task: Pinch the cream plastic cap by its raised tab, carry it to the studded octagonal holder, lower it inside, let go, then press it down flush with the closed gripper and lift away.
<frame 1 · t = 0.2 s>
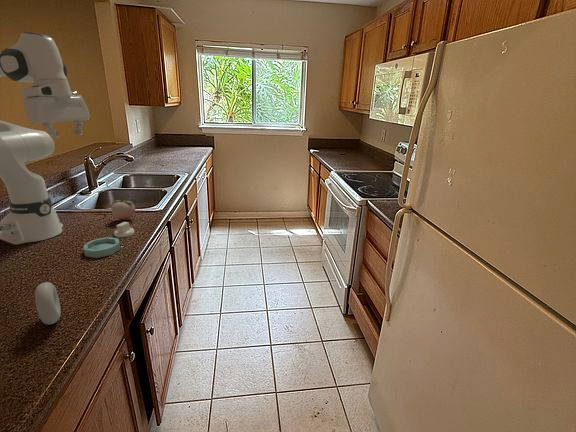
hand: (67, 136, 103), 38 cm above the counter, tool pointing down, fingers open, 8 cm apart
studded octagonal holder: (103, 250, 110), on the counter
decorative fruit: (125, 221, 137), on the counter
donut: (53, 321, 76), on the counter
cap: (124, 234, 124), on the counter
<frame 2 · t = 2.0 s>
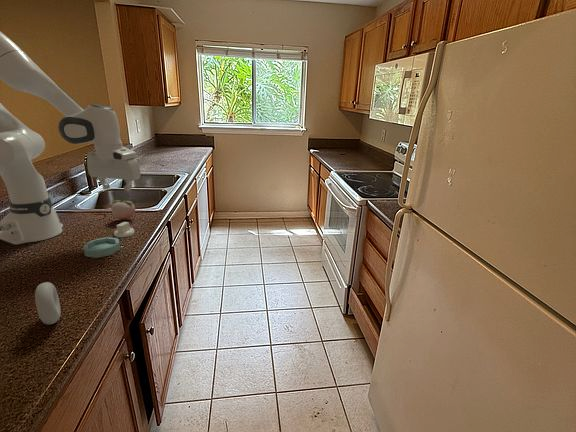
hand: (117, 189, 118), 18 cm above the counter, tool pointing down, fingers open, 8 cm apart
nothing on the counter moved.
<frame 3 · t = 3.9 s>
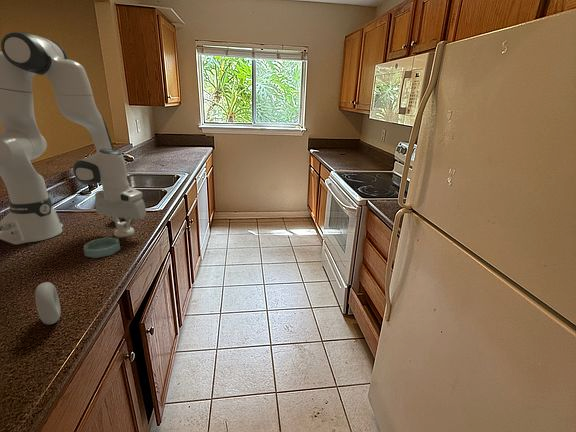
hand: (123, 227, 123), 3 cm above the counter, tool pointing down, fingers closed on cap, 2 cm apart
cap: (124, 234, 124), on the counter, touching gripper
everything else where it was.
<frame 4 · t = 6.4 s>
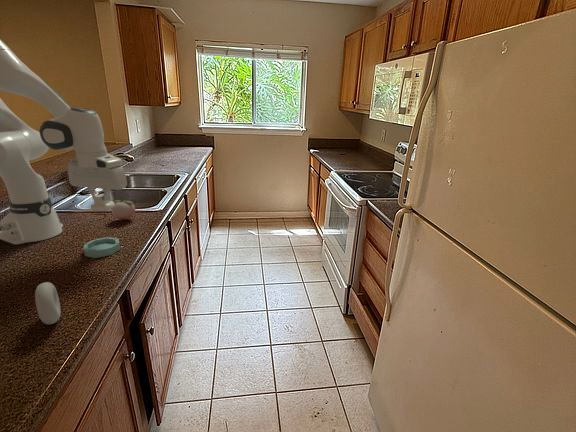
hand: (101, 200, 108), 17 cm above the counter, tool pointing down, fingers closed on cap, 2 cm apart
cap: (103, 207, 109), point 14 cm above the counter, touching gripper
everything else where it was.
when the fingers open (5 cm above the counter, at t = 8.6 s): cap stays where it is, resting on studded octagonal holder.
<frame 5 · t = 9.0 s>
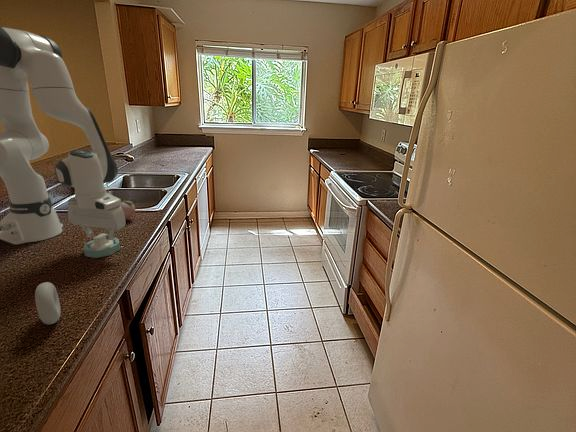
hand: (100, 238, 109), 5 cm above the counter, tool pointing down, fingers open, 7 cm apart
cap: (102, 247, 110), point 1 cm above the counter, touching studded octagonal holder
everything else where it was.
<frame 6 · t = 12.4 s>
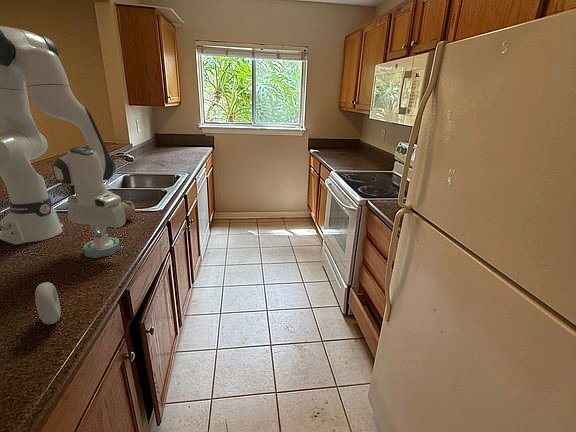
hand: (100, 235, 109), 6 cm above the counter, tool pointing down, fingers closed, pressing on cap
cap: (102, 247, 110), point 1 cm above the counter, touching studded octagonal holder, gripper
everything else where it was.
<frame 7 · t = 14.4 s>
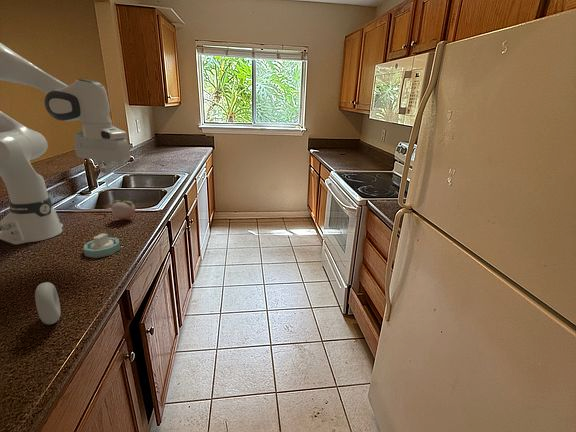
hand: (105, 172, 110), 26 cm above the counter, tool pointing down, fingers closed
cap: (102, 247, 110), point 1 cm above the counter, touching studded octagonal holder
everything else where it was.
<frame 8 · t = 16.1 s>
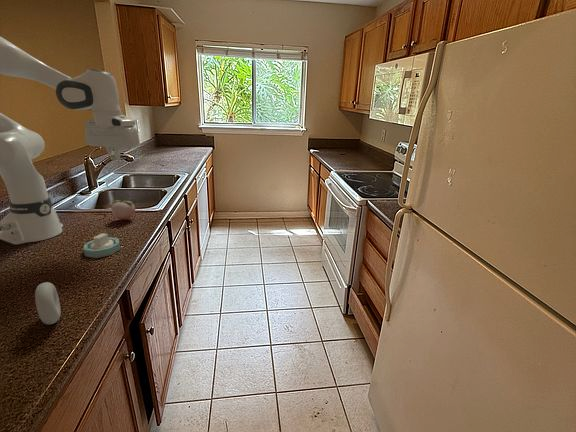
hand: (115, 159, 115), 29 cm above the counter, tool pointing down, fingers closed
nothing on the counter moved.
at the end: cap 0.2 cm off-centre on the studded octagonal holder, point 1.0 cm above the studded octagonal holder's base; cap tilted 0°; the gripper is holding nothing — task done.
